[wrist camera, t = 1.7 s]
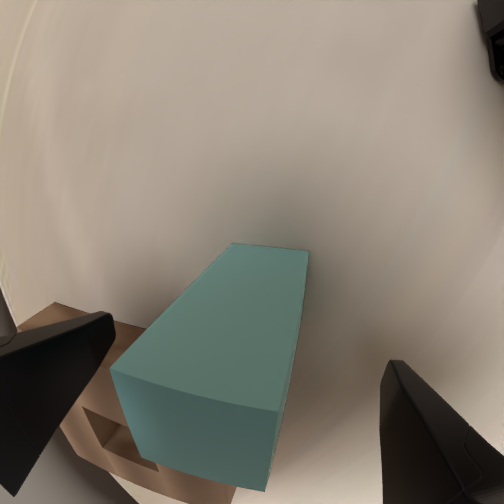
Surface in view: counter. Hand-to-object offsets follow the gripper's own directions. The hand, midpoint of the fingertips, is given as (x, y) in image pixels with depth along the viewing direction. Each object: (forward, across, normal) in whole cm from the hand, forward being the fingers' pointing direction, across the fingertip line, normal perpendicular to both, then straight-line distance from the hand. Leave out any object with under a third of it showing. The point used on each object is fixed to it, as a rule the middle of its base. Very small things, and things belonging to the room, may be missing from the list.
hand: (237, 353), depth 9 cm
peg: (+6, 0, 0) cm, 6 cm away
